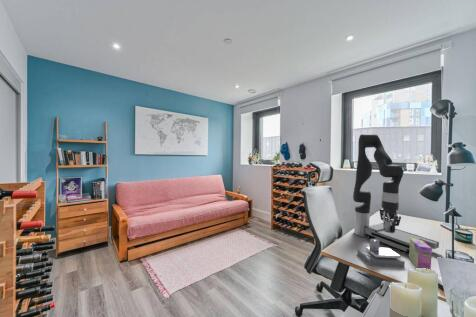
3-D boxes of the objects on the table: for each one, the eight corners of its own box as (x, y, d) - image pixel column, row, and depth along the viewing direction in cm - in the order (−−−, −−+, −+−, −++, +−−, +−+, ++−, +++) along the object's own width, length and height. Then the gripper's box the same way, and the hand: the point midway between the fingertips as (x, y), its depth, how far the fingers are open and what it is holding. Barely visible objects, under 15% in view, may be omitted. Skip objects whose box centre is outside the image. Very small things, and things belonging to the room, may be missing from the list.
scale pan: (365, 249, 117) (366, 247, 117) (388, 249, 116) (388, 247, 116) (375, 257, 108) (375, 254, 108) (400, 258, 107) (400, 255, 107)
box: (431, 270, 103) (432, 247, 103) (417, 267, 105) (418, 245, 105) (421, 260, 113) (422, 239, 112) (408, 258, 115) (409, 238, 114)
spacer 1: (368, 248, 114) (368, 238, 114) (375, 249, 114) (376, 238, 114) (372, 252, 110) (373, 242, 110) (380, 253, 110) (381, 242, 109)
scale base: (357, 254, 118) (357, 248, 118) (388, 255, 117) (388, 249, 117) (369, 265, 106) (369, 259, 106) (404, 267, 105) (404, 260, 105)
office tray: (421, 260, 113) (421, 246, 112) (364, 238, 142) (365, 227, 141) (438, 253, 122) (439, 240, 121) (382, 233, 151) (382, 223, 150)
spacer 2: (382, 229, 114) (382, 219, 113) (390, 230, 113) (390, 219, 113) (387, 232, 109) (388, 222, 109) (395, 233, 109) (396, 222, 109)
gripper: (375, 197, 118) (374, 225, 119) (392, 203, 104) (391, 235, 104) (388, 197, 118) (387, 226, 118) (407, 203, 103) (406, 236, 104)
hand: (389, 230), depth 111 cm, fingers closed on spacer 2, 4 cm apart
